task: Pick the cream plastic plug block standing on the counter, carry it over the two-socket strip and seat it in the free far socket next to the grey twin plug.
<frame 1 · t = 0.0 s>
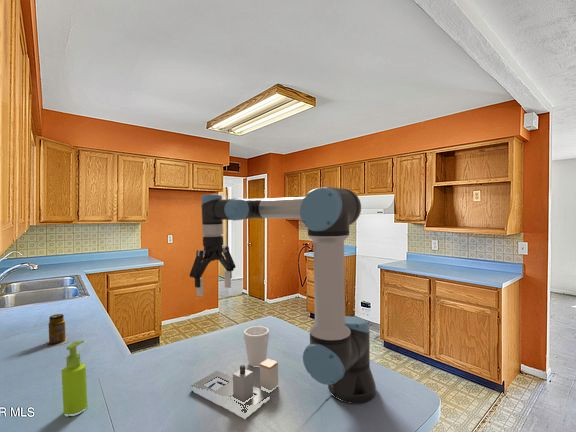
hand: (214, 291, 118), 28 cm above the counter, tool pointing down, fingers open, 13 cm apart
plug: (269, 390, 102), on the counter
twin plug: (243, 401, 95), resting on socket strip
foam cup: (257, 365, 118), on the counter
condiment: (57, 342, 143), on the counter
socket strip: (229, 397, 99), on the counter
soap dispenser: (76, 410, 94), on the counter
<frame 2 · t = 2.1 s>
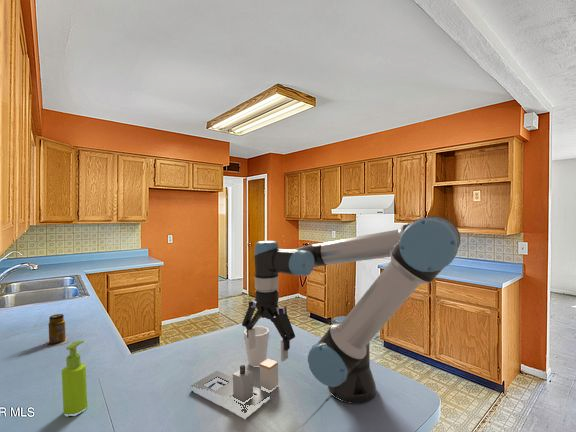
hand: (267, 353, 102), 12 cm above the counter, tool pointing down, fingers open, 13 cm apart
nothing on the counter moved.
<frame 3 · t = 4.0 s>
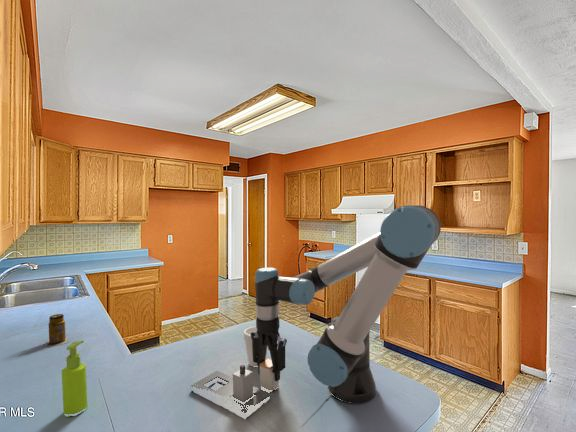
hand: (269, 386, 102), 1 cm above the counter, tool pointing down, fingers closed on plug, 4 cm apart
plug: (269, 389, 102), on the counter, touching gripper
everything else where it was.
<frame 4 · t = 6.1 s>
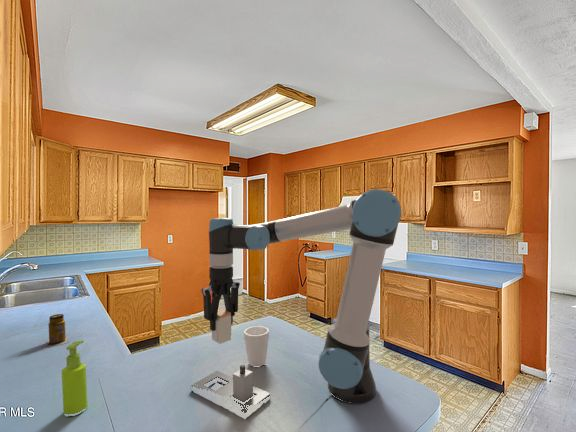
hand: (221, 336, 102), 18 cm above the counter, tool pointing down, fingers closed on plug, 4 cm apart
plug: (221, 339, 102), point 17 cm above the counter, touching gripper
everything else where it was.
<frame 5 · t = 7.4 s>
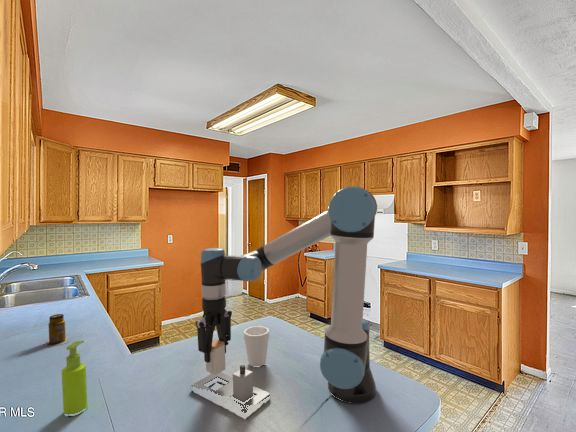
hand: (215, 367, 102), 8 cm above the counter, tool pointing down, fingers closed on plug, 4 cm apart
plug: (215, 370, 102), point 7 cm above the counter, touching gripper
everything else where it was.
when the fingers open (4 cm above the counter, at t = 8.5 s): plug drops 2 cm, resting on socket strip.
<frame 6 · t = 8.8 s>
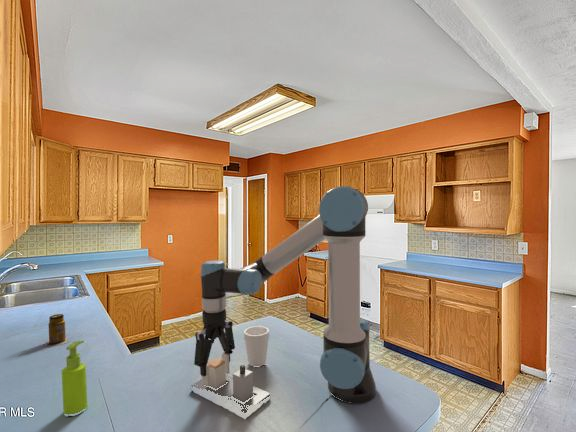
hand: (216, 378, 102), 4 cm above the counter, tool pointing down, fingers open, 8 cm apart
plug: (216, 389, 102), point 1 cm above the counter, touching socket strip
everything else where it was.
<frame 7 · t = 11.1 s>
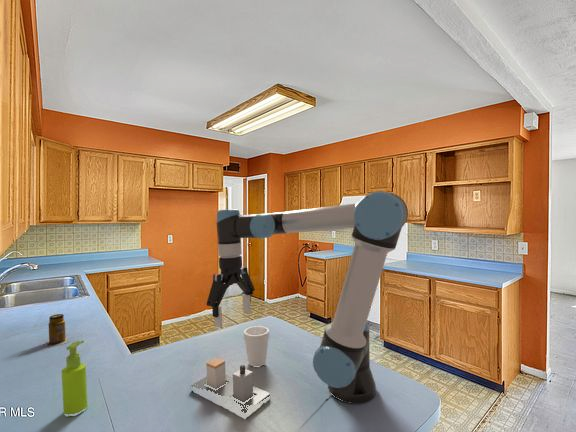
hand: (233, 319, 104), 22 cm above the counter, tool pointing down, fingers open, 13 cm apart
nothing on the counter moved.
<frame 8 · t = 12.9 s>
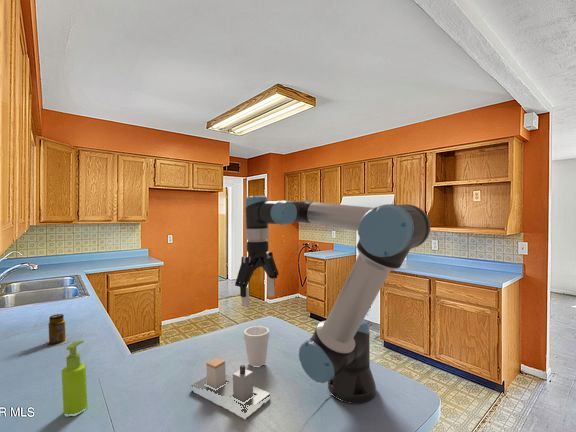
hand: (258, 300, 110), 27 cm above the counter, tool pointing down, fingers open, 13 cm apart
nothing on the counter moved.
at the end: plug 0.0 cm from the target spot on the socket strip, point 0.6 cm above the socket strip's base; plug tilted 0°; the gripper is holding nothing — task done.
